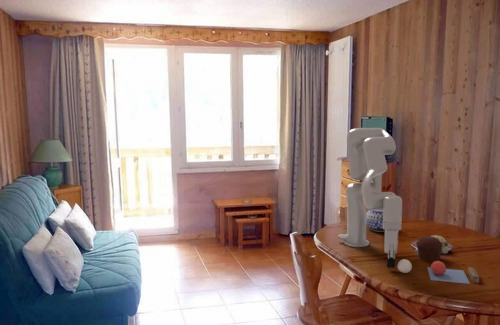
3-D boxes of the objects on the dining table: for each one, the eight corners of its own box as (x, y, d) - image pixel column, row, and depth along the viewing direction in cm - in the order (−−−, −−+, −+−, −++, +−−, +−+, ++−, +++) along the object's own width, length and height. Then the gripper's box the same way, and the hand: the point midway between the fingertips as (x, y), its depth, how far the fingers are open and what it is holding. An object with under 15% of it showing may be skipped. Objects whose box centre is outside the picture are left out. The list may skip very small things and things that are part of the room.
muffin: (441, 264, 182) (441, 242, 181) (414, 260, 188) (414, 238, 187) (443, 256, 193) (444, 235, 192) (417, 252, 198) (418, 232, 197)
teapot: (362, 223, 251) (362, 199, 249) (388, 223, 249) (389, 199, 247) (368, 235, 226) (369, 208, 224) (398, 236, 224) (398, 209, 222)
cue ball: (407, 262, 169) (413, 273, 170) (408, 255, 174) (414, 266, 175) (394, 265, 172) (400, 277, 173) (395, 258, 177) (401, 269, 178)
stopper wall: (473, 282, 163) (473, 276, 162) (468, 273, 172) (468, 267, 172) (478, 283, 162) (479, 276, 162) (473, 273, 171) (473, 267, 171)
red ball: (443, 261, 167) (449, 274, 167) (440, 257, 173) (447, 269, 173) (429, 266, 169) (436, 279, 169) (427, 262, 174) (433, 274, 174)
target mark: (430, 280, 165) (430, 279, 165) (427, 267, 179) (427, 267, 179) (469, 284, 161) (470, 283, 161) (463, 270, 174) (463, 270, 174)
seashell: (453, 252, 195) (444, 234, 194) (433, 261, 197) (424, 242, 196) (446, 244, 205) (438, 227, 204) (428, 252, 207) (419, 235, 206)
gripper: (382, 220, 182) (381, 260, 185) (382, 229, 168) (381, 272, 170) (400, 221, 180) (399, 261, 182) (402, 230, 166) (401, 274, 168)
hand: (390, 266), depth 176 cm, fingers closed
